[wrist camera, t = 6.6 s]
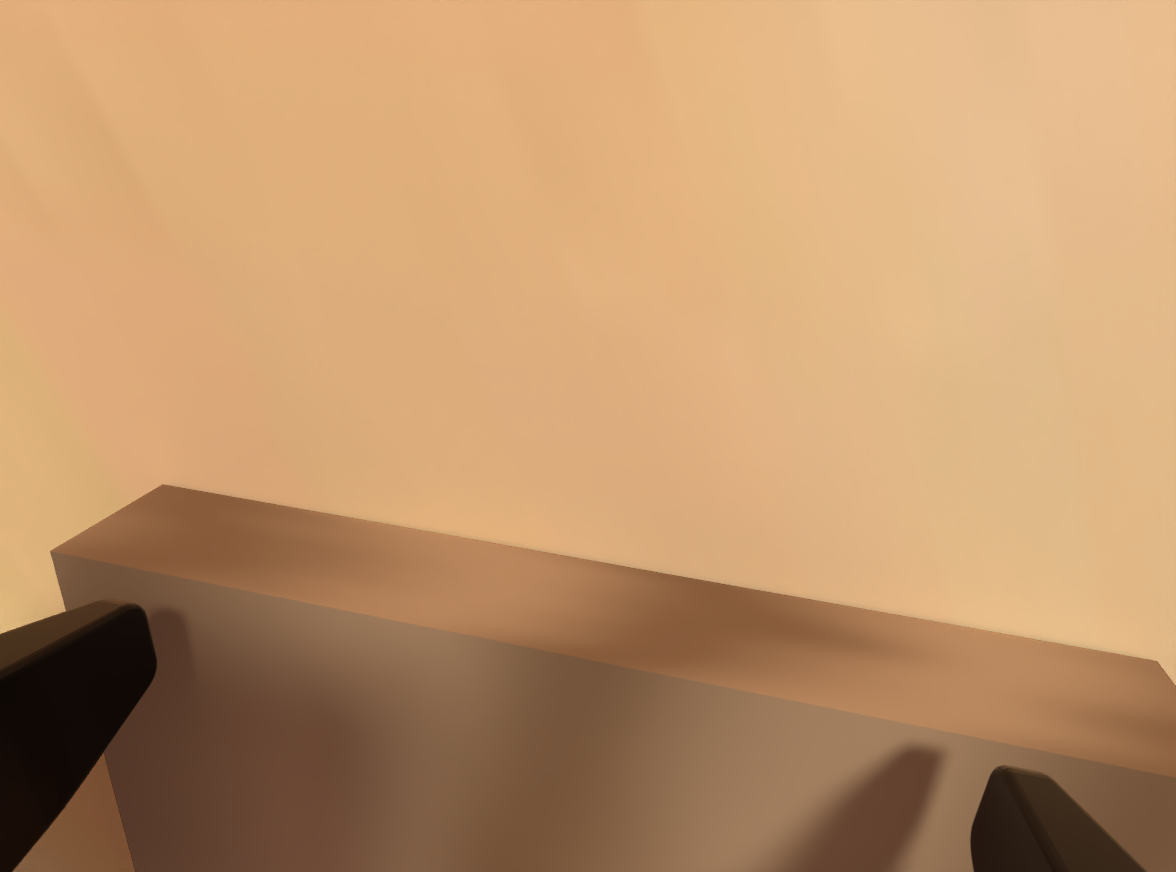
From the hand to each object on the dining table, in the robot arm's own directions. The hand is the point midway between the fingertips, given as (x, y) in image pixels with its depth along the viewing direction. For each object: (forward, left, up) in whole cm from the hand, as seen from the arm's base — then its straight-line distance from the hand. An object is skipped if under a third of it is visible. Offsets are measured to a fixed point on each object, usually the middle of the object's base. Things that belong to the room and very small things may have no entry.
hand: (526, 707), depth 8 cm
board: (0, +11, -3) cm, 11 cm away
